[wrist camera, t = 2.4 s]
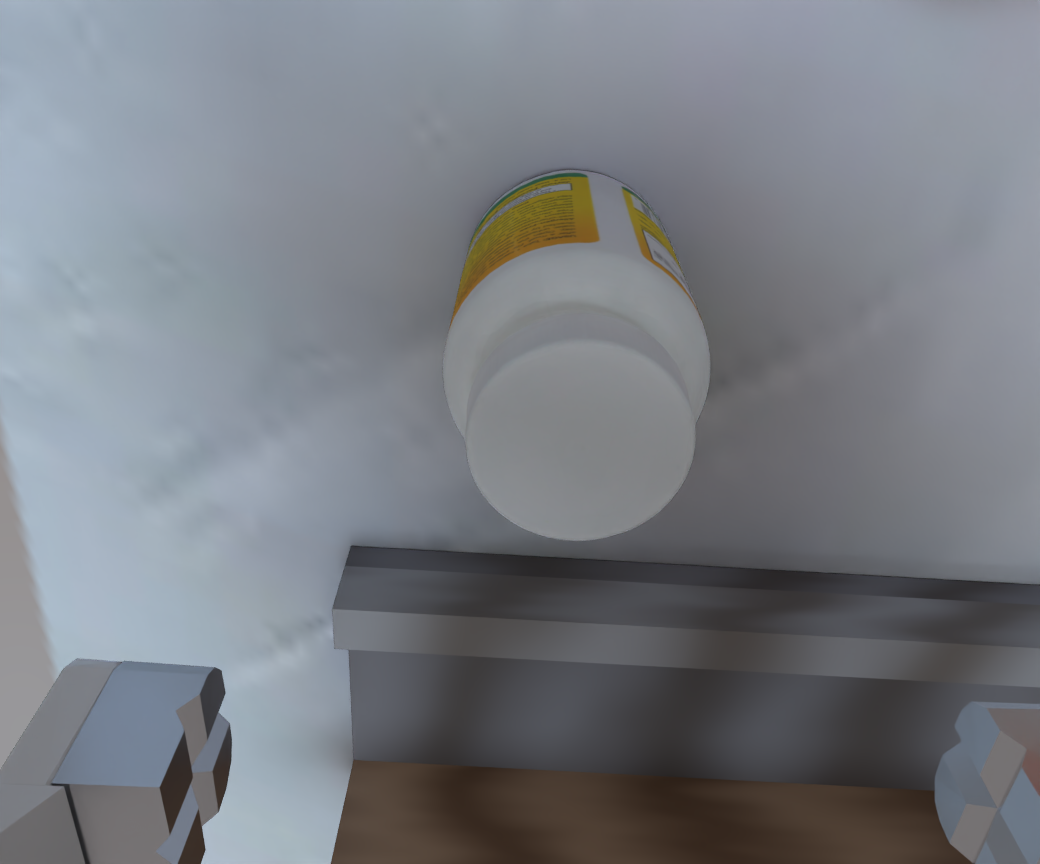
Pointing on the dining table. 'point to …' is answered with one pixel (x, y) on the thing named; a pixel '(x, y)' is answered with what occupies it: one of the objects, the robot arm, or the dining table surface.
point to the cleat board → (660, 709)
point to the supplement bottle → (575, 358)
